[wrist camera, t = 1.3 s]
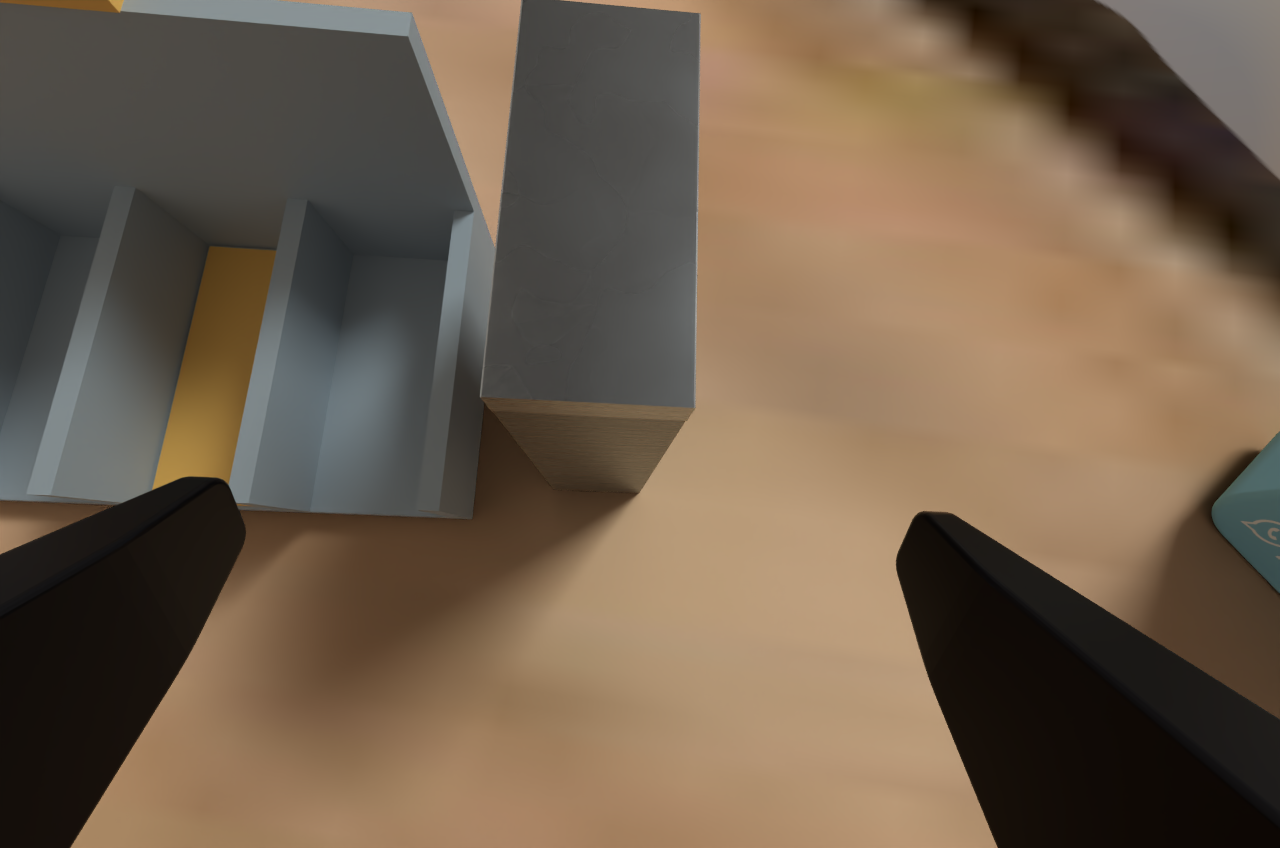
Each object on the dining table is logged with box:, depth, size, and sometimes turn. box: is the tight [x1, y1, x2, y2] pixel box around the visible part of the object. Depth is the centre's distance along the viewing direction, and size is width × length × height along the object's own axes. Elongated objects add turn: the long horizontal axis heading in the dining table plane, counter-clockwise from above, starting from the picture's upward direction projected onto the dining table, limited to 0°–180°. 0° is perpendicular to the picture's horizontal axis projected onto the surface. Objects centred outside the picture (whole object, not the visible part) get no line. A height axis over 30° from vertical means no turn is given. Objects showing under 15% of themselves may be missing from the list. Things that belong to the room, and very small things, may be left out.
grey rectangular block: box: [480, 0, 701, 493], centre depth 14 cm, size 7×3×12 cm, turn 178°
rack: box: [0, 0, 495, 519], centre depth 14 cm, size 10×16×12 cm, turn 88°
